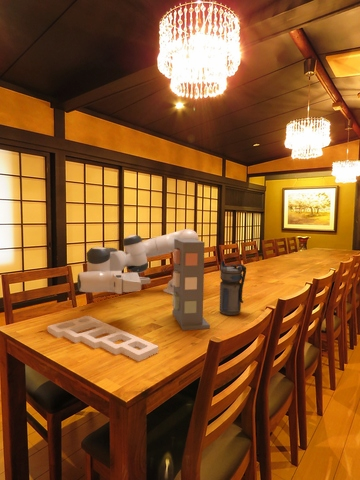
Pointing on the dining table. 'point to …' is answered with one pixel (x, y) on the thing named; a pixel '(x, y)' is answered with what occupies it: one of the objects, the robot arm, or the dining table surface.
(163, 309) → the dining table surface
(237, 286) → the beverage bottle
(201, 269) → the button panel
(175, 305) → the bottom sage button
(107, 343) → the holder
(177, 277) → the middle cream button
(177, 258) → the top terracotta button
